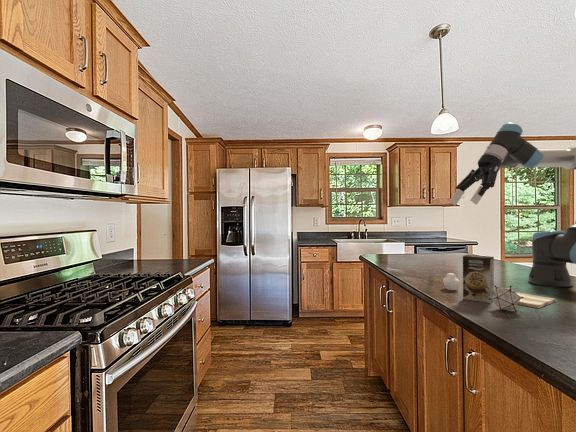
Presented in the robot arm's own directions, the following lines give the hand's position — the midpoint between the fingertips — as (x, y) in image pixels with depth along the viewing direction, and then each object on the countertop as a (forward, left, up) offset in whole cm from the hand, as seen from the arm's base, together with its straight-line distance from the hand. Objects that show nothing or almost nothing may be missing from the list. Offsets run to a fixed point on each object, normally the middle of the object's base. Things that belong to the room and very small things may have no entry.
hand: (462, 203), depth 127 cm
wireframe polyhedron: (+10, +19, -36) cm, 42 cm away
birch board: (-8, +18, -36) cm, 41 cm away
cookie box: (+3, +7, -36) cm, 37 cm away
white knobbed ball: (-4, -8, -36) cm, 37 cm away
